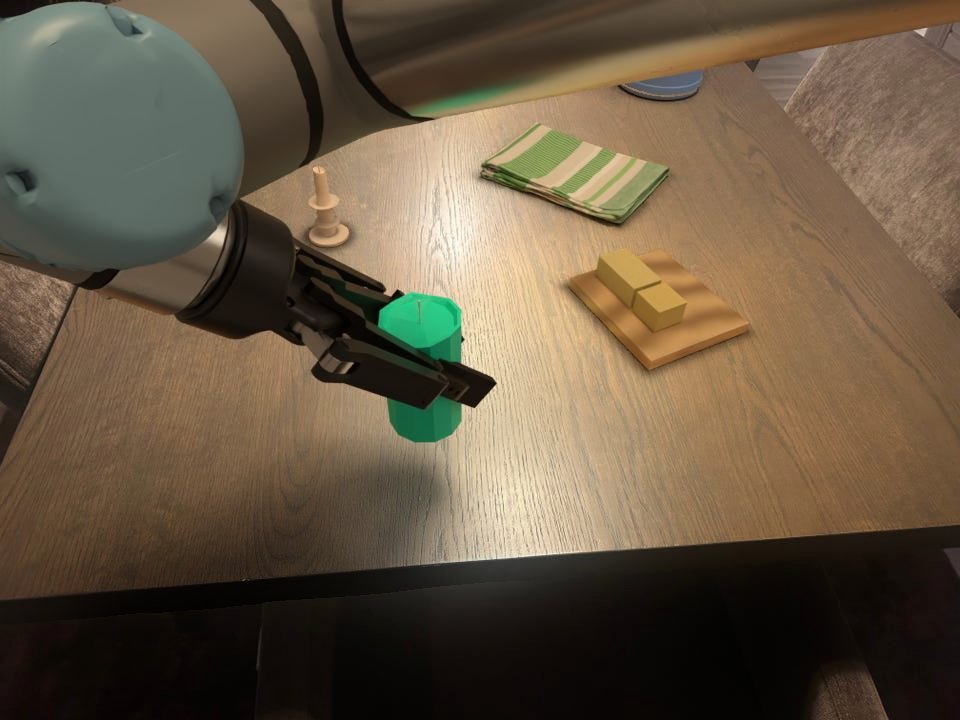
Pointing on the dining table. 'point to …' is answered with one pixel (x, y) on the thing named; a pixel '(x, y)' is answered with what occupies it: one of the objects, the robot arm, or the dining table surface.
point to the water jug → (668, 85)
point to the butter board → (696, 331)
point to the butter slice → (659, 307)
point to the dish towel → (574, 173)
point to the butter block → (625, 275)
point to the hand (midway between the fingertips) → (467, 369)
